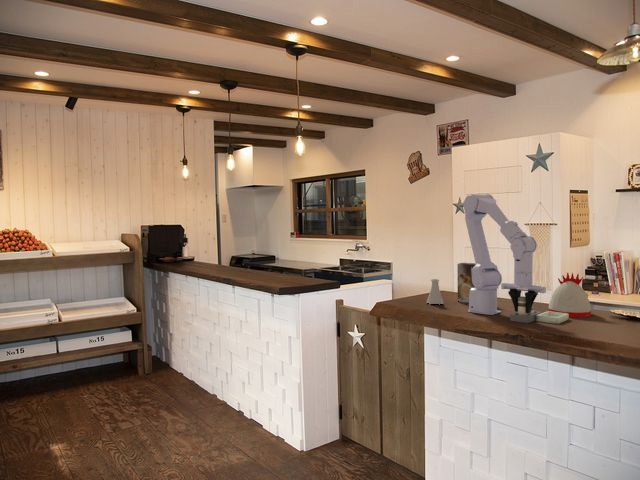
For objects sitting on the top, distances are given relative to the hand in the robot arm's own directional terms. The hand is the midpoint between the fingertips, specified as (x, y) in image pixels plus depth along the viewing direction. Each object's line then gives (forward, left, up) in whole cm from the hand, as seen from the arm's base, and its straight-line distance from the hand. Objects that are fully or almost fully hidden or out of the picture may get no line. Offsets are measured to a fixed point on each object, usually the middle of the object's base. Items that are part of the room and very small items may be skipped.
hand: (522, 312), depth 169 cm
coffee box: (-32, +22, -3) cm, 38 cm away
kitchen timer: (+6, +25, -3) cm, 26 cm away
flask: (-40, +8, -3) cm, 40 cm away
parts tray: (+7, +8, -3) cm, 11 cm away
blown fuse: (0, 0, -3) cm, 3 cm away
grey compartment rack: (0, +3, -3) cm, 4 cm away
